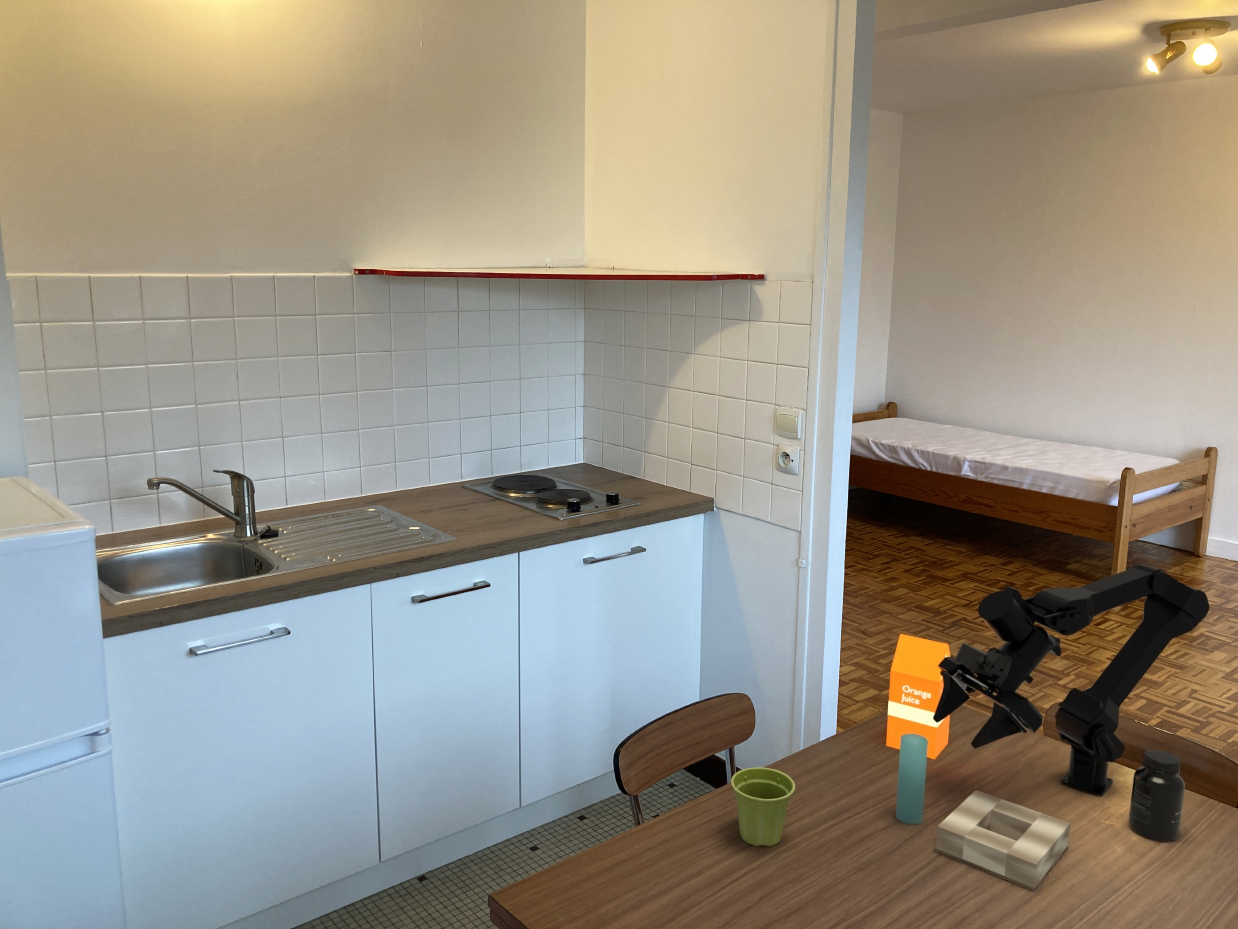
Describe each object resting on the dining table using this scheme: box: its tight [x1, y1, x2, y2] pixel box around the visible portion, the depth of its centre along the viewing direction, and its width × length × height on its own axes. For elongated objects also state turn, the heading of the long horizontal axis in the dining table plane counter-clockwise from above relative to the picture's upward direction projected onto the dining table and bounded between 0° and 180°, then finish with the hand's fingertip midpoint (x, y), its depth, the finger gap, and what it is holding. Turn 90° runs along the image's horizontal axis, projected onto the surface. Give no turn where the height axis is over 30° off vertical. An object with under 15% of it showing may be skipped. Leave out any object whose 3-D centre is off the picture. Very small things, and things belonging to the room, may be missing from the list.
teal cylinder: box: [895, 734, 928, 825], centre depth 149 cm, size 4×4×13 cm
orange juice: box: [885, 633, 951, 760], centre depth 172 cm, size 8×9×20 cm
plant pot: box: [730, 766, 796, 847], centre depth 144 cm, size 9×9×9 cm
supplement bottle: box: [1128, 749, 1186, 842], centre depth 146 cm, size 7×7×12 cm
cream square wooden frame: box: [935, 789, 1071, 892], centre depth 141 cm, size 14×14×4 cm
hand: (953, 733), depth 150 cm, fingers open, 9 cm apart
